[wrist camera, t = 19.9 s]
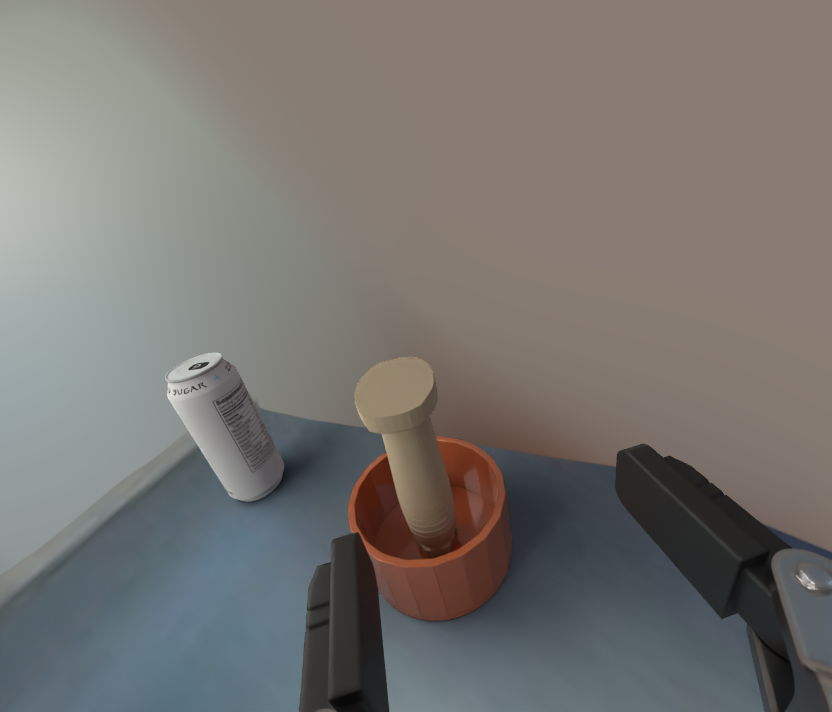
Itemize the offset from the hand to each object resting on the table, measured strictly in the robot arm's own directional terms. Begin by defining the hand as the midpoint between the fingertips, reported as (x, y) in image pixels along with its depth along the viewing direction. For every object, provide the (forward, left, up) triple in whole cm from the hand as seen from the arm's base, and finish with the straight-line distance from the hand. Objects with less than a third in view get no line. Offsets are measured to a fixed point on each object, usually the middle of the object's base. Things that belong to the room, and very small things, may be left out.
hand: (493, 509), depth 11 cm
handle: (-2, -12, -17) cm, 21 cm away
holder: (-2, -12, -17) cm, 21 cm away
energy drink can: (+9, -30, -18) cm, 36 cm away
